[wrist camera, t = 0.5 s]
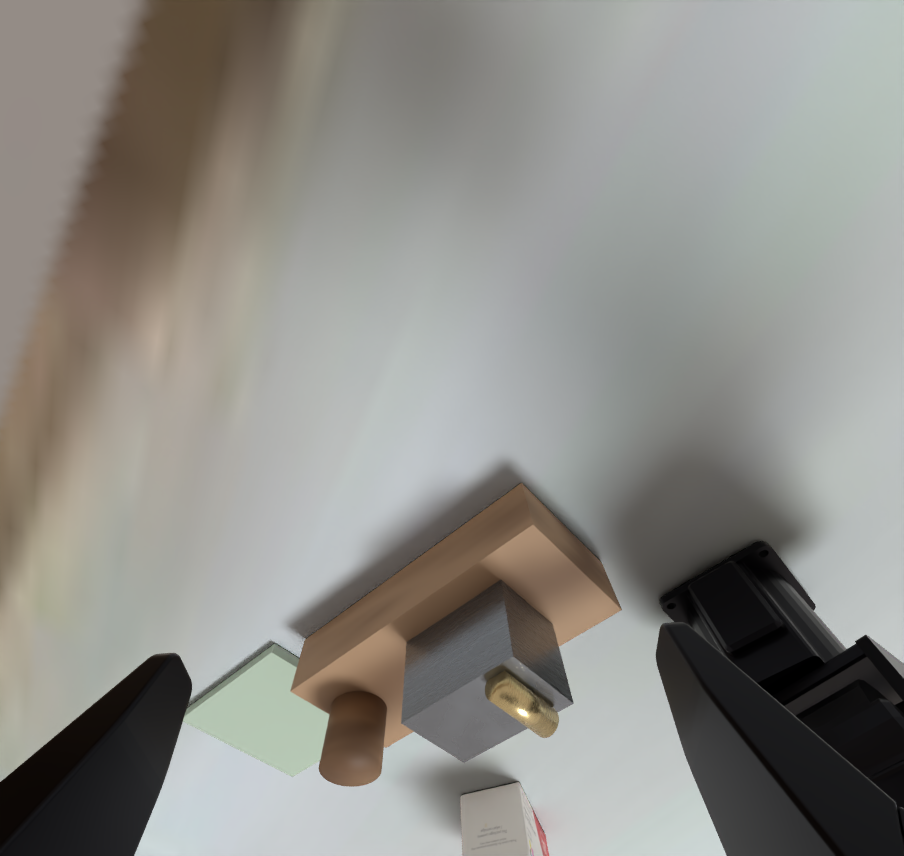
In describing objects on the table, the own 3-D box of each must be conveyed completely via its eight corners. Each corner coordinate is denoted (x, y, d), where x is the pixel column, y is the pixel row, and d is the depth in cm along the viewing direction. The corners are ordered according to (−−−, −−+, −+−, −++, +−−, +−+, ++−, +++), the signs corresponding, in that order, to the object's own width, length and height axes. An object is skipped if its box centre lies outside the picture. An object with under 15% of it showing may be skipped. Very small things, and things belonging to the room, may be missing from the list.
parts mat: (385, 712, 31) (384, 721, 31) (294, 767, 34) (292, 777, 33) (274, 643, 28) (271, 652, 28) (184, 710, 31) (179, 719, 30)
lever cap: (552, 624, 23) (579, 728, 19) (460, 680, 25) (465, 787, 21) (500, 579, 22) (517, 680, 18) (406, 641, 24) (399, 748, 19)
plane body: (601, 562, 26) (645, 665, 20) (390, 694, 31) (380, 808, 25) (521, 482, 23) (547, 575, 18) (304, 639, 28) (272, 751, 23)
